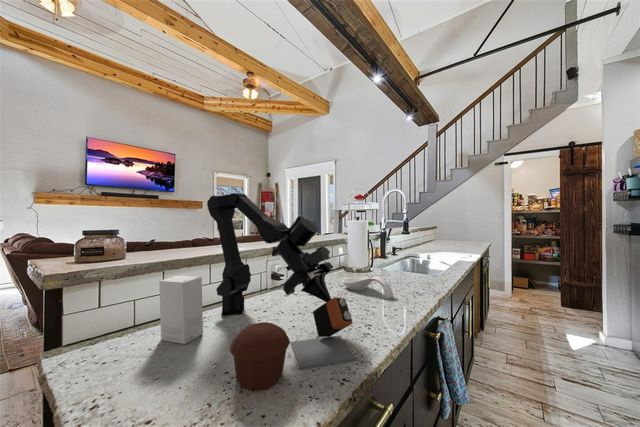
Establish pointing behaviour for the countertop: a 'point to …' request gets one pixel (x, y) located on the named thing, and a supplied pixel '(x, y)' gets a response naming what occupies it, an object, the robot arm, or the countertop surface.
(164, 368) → the countertop surface
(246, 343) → the muffin
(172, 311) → the skincare box
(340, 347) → the rubber mat
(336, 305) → the battery
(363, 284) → the spoon rest
